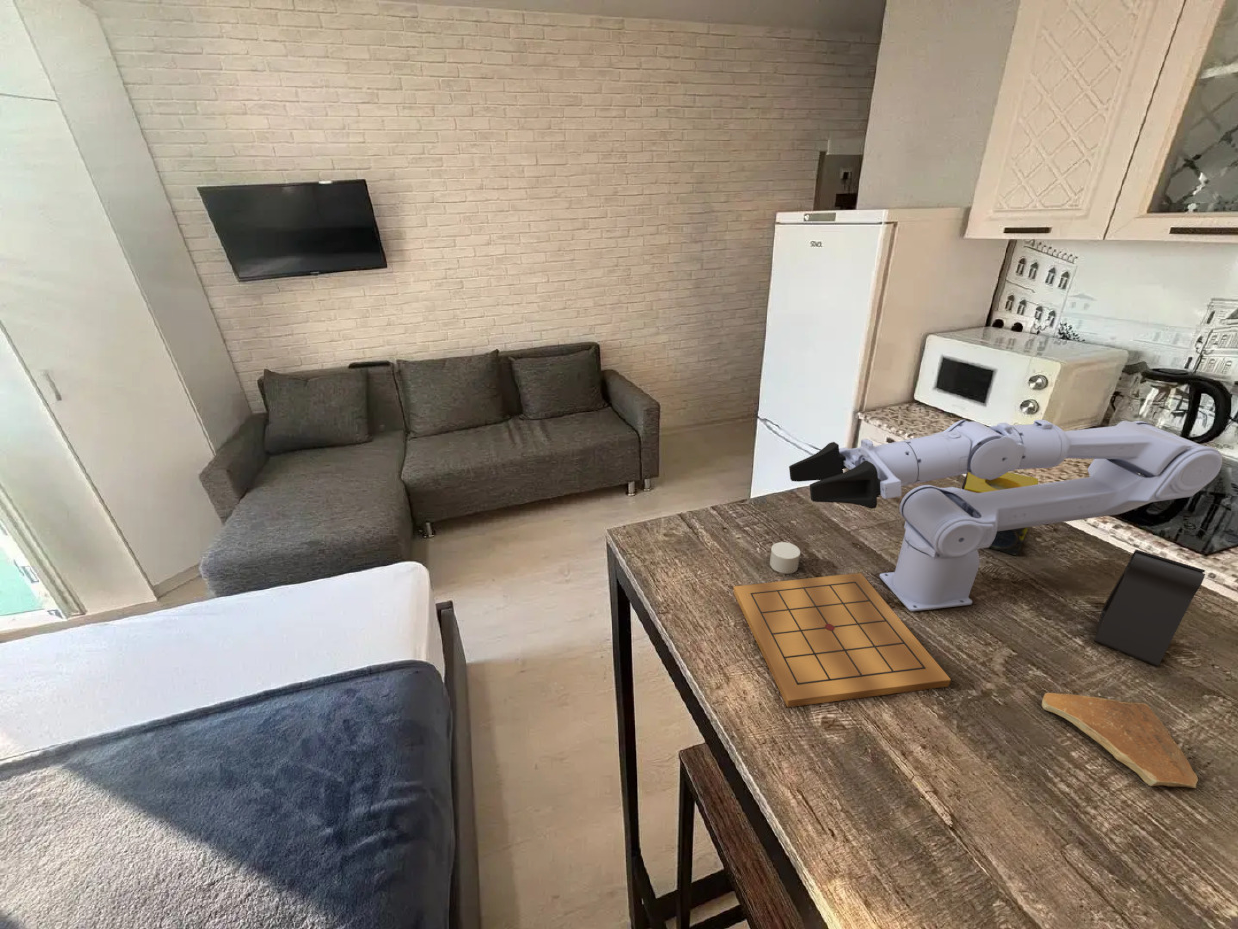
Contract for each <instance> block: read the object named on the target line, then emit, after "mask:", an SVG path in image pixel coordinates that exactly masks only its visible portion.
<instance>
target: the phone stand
mask: <svg viewBox="0 0 1238 929" xmlns="http://www.w3.org/2000/svg"><path fill="white" fill-rule="evenodd" d="M1205 577H1206V569H1203V568H1200V567H1196V566H1193V565H1189V564H1186V563H1184V562H1180V561H1176V560H1173V559H1170V558H1166V557H1163V556H1159V555H1156V554H1152V553H1151V552H1146V551H1143V550H1139V549H1135V550H1134V552H1133V553H1132V555H1131V557H1130V559H1129V560H1128V563H1127V564H1126V566H1125V568H1124V570H1123V571H1122V573H1121V574H1120V577H1119V579H1118V580H1117V582H1116V583H1115V585H1114V587H1113V589H1112V590H1111V592H1110V593H1109V595H1108V597H1107V598H1106V601H1105V602H1104V603H1103V606H1102V609H1101V613H1100V616H1099V620H1098V624H1097V628H1096V630H1095V631H1096V632H1095V635H1094V638H1093V639H1094V640H1093V641H1094V642H1096V643H1098V644H1100V645H1103V646H1105V647H1108V648H1110V649H1112V650H1115V651H1118V652H1120V653H1122V654H1125V655H1128V656H1130V657H1133V658H1135V659H1137V660H1140V661H1142V662H1145V663H1148V664H1150V665H1153V666H1155V667H1159V666H1160V664H1161V663H1162V661H1163V658H1164V657H1165V654H1166V652H1167V649H1168V648H1169V646H1170V644H1171V642H1172V640H1173V638H1174V636H1175V635H1176V633H1177V630H1178V629H1179V627H1180V624H1181V622H1182V621H1183V619H1184V616H1185V614H1186V613H1187V610H1188V608H1189V607H1190V605H1191V603H1192V601H1193V598H1194V597H1195V595H1196V594H1197V592H1198V591H1199V590H1200V588H1201V586H1202V583H1203V582H1204V579H1205Z"/></svg>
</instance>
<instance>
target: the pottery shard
mask: <svg viewBox="0 0 1238 929" xmlns="http://www.w3.org/2000/svg"><path fill="white" fill-rule="evenodd" d="M1041 701H1042V702H1041V707H1042V709H1043V710H1044V711H1047V712H1050V713H1052V714H1055V715H1057V716H1059V717H1061V718H1064V719H1065V720H1067V721H1068V722H1070V723H1072V724H1073V726H1075V727H1077V728H1078V729H1079V730H1080V731H1081V732H1083V733H1084V734H1086V735H1087V736H1088V737H1090V738H1091V739H1092V740H1094V741H1095V742H1096V743H1097V744H1099V745H1101V747H1103V748H1104V749H1105V750H1106V751H1107V752H1109V753H1110V754H1111V755H1112V756H1113V757H1114V759H1116V761H1118V762H1120V763H1122V764H1124V765H1125V766H1126V767H1128V768H1129V769H1130V770H1132V771H1133V772H1135V774H1137V775H1138V776H1139V778H1141V780H1143V782H1144V783H1145V784H1147V786H1149V787H1155V786H1166V787H1184V788H1185V787H1186V788H1192V789H1196V788H1197V783H1198V781H1199V778H1198V776H1197V774H1196V773H1195V772H1194V770H1193V769H1192V765H1191V763H1190V762H1189V760H1188V758H1187V757H1186V755H1185V754H1184V753H1183V751H1182V749H1181V747H1180V746H1179V745H1178V743H1176V742H1175V740H1174V739H1173V738H1172V736H1171V734H1170V731H1169V730H1168V728H1166V726H1165V725H1164V724H1163V722H1162V721H1161V720H1160V718H1159V717H1158V716H1157V715H1156V714H1155V712H1154V711H1153V710H1152V708H1150V706H1149V705H1148V704H1147V703H1142V702H1124V701H1119V700H1116V699H1109V698H1102V697H1097V696H1088V695H1081V694H1069V693H1068V694H1067V693H1057V692H1056V693H1055V692H1045V693H1044V695H1043V696H1042V700H1041Z"/></svg>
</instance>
